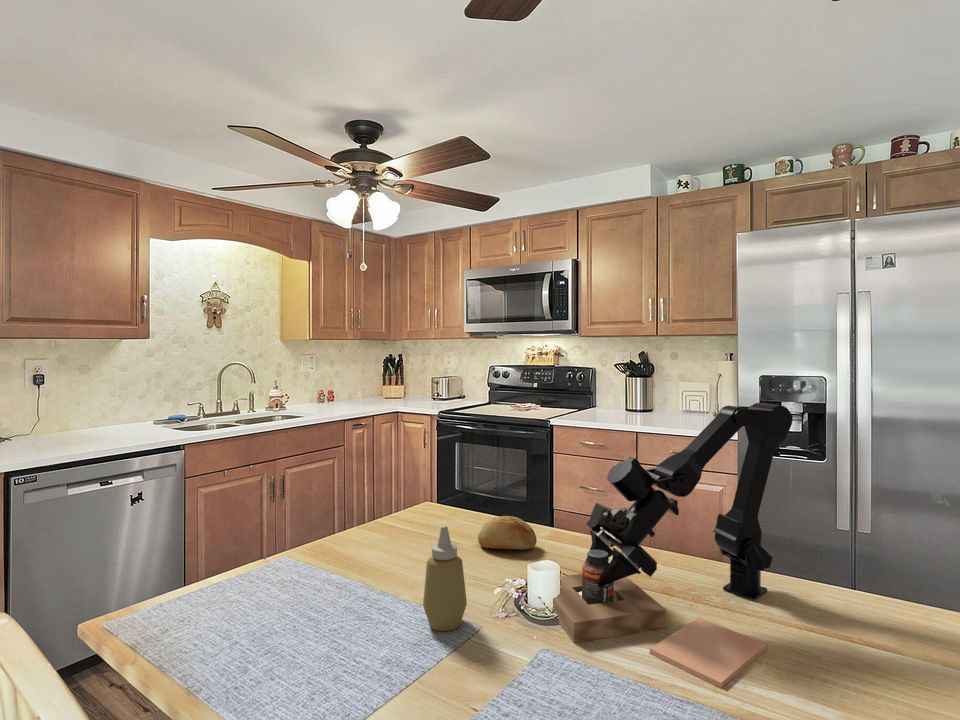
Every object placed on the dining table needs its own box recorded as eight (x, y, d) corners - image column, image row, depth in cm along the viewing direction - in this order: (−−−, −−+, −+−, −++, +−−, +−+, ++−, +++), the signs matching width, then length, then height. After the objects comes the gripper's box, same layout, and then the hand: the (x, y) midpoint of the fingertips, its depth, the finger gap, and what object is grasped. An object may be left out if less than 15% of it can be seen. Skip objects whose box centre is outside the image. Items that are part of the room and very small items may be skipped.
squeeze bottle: (423, 614, 103) (422, 520, 103) (465, 612, 104) (464, 519, 104) (422, 636, 95) (421, 535, 95) (468, 634, 96) (467, 533, 96)
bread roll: (535, 557, 131) (535, 524, 131) (474, 554, 133) (474, 522, 133) (537, 543, 140) (537, 512, 140) (480, 540, 143) (480, 510, 142)
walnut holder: (617, 585, 115) (617, 569, 115) (666, 628, 97) (666, 609, 97) (537, 596, 110) (537, 579, 110) (573, 642, 93) (573, 622, 93)
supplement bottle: (614, 620, 100) (614, 560, 100) (581, 617, 101) (581, 558, 101) (613, 605, 106) (613, 548, 106) (582, 602, 107) (582, 546, 107)
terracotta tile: (698, 621, 100) (698, 617, 100) (766, 648, 91) (766, 644, 91) (649, 653, 89) (649, 648, 89) (721, 688, 80) (721, 682, 80)
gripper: (594, 478, 113) (545, 535, 111) (641, 502, 95) (584, 571, 93) (628, 512, 115) (581, 568, 113) (681, 542, 97) (625, 611, 95)
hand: (591, 578), depth 103 cm, fingers closed on supplement bottle, 6 cm apart
